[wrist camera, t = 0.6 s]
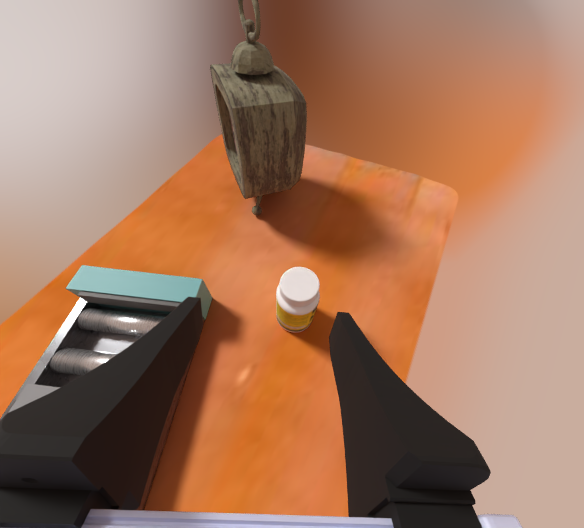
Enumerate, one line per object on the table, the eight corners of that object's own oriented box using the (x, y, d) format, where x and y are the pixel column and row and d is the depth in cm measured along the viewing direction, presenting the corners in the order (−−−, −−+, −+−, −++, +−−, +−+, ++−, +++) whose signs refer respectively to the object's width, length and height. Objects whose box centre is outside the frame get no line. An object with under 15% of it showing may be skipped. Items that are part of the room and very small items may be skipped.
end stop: (204, 323, 29) (192, 307, 25) (93, 310, 29) (62, 292, 25) (212, 297, 31) (202, 279, 27) (108, 285, 31) (82, 265, 27)
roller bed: (112, 608, 17) (86, 637, 15) (-72, 583, 17) (-126, 608, 15) (204, 319, 29) (198, 311, 27) (96, 306, 30) (80, 297, 27)
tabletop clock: (229, 172, 46) (189, -35, 25) (273, 164, 48) (270, -33, 27) (250, 224, 38) (217, -5, 18) (301, 212, 41) (325, -6, 20)
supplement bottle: (313, 333, 29) (324, 306, 22) (275, 332, 29) (274, 305, 22) (312, 298, 32) (321, 264, 25) (277, 297, 32) (276, 262, 25)
